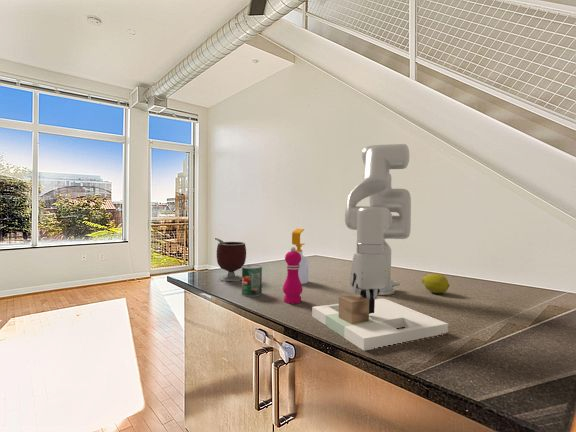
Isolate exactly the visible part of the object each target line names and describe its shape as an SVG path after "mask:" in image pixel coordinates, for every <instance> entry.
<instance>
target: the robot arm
mask: <svg viewBox="0 0 576 432" xmlns="http://www.w3.org/2000/svg"><path fill="white" fill-rule="evenodd" d="M361 159H362V163H363V168H364V169H363V177H362V181H360V182H359V183H358V184H357V185H355V187H353V188H352V190H351V191H350V193H349V195H348V196H347V199H346V205H345V213H344V223H345V225H346V228H348V229H349V230H352V231H356V253H354V254H353V258H352V260H351V261H352V262H351V267H350V278H349V279H350V280H349V281H350V282H349V284H350V286H351V287H352V293H354V294H355V295H359V296H361V297H363V298H366V299H369V314H371V313H374V308H375V299H378V298H377V297H378V296H391V295H393V294H395V289H394V287H400V284H401V283H400V281H398V280H397V281H394V280H391V279H392V248H391V246H390V245H389V243H388V242H387V241H386V240H407V239H408V238H409V237H410V234H411V225H412V224H411V221H412V217H411V216H412V197H411V194H410V191H409V190H408V189H406V188H393V187H392V174H391V173H390V170H404V169H407V167H408V165H409V163H410V148H409V147H408V145H407V144H405V143H393V144H373V145H368V146H365V147H364V148H363V149H362V150H361ZM366 198H369V206H366V205H365V206H362V205H358V206H357V204H358V203H360V202H361V201H362V200H365V199H366ZM393 213H397V214H398V215H393Z"/></svg>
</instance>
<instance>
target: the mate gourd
mask: <svg viewBox="0 0 576 432" xmlns="http://www.w3.org/2000/svg"><path fill="white" fill-rule="evenodd" d="M214 240H215V241H218V242H217V248H216V262H217V264H218V266H219V267H220V269H222V270H224V271H227V274H225V275H220V276H218V277H217V280H218V279H219V280H221V281H220V282H223V281H237V282H241V281H240V280H242V275H238V274H236V273H235V272H237V271H238V270H240V269H242V266H244V265H246V259H247V248H246V242H244V241H243V242H242V241H223V240H221V239H219V238H216V237H215V238H214ZM219 280H218V281H219Z"/></svg>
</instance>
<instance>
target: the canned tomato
mask: <svg viewBox="0 0 576 432" xmlns="http://www.w3.org/2000/svg"><path fill="white" fill-rule="evenodd" d="M241 276H242V281H241V295H242V296H243V297H249V296H250V297H259V296H261V295H263V292H262V290H263V285H262V283H263V282H262V281H263V279H262V278H263V277H262V276H263V266H262V265H259V264H244V265H243V266H242V268H241Z"/></svg>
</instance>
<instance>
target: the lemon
mask: <svg viewBox="0 0 576 432" xmlns="http://www.w3.org/2000/svg"><path fill="white" fill-rule="evenodd" d="M421 283H422V284H424V287H425V288H426V289H427V291H429V292H431V293H434V294H437V293H438V295H439V294H440V295H441V294H444V293H446V292H447V291H448V289H449V288H450V286H451V285H450V282H449V280H448V279H447V277H446V276H444V275H443V274H440V273H430V274H427V275H425V276H423V277H422V278H421Z"/></svg>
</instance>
